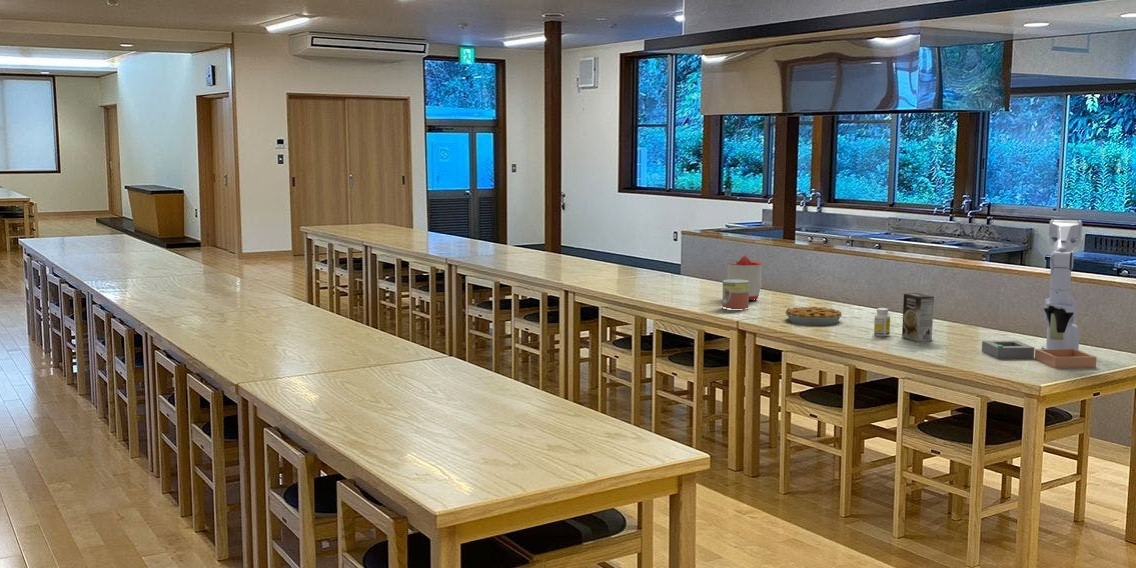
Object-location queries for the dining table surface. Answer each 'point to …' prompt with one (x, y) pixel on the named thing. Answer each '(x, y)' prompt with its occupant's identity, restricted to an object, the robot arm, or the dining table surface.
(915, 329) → the coffee box
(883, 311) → the supplement bottle
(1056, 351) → the tray
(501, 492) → the dining table surface
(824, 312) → the pie
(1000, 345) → the frame
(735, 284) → the canned food
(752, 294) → the citrus juicer
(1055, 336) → the olive cell
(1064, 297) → the robot arm
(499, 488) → the dining table surface
